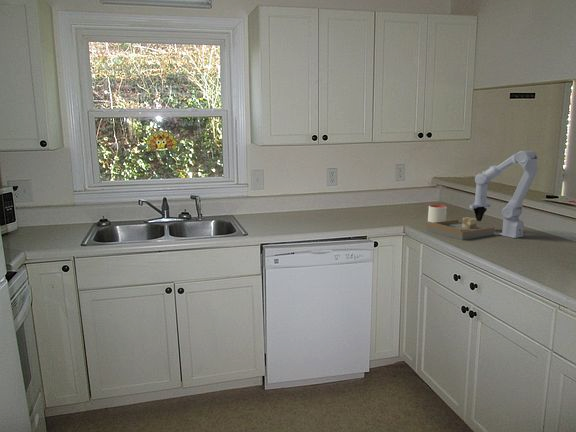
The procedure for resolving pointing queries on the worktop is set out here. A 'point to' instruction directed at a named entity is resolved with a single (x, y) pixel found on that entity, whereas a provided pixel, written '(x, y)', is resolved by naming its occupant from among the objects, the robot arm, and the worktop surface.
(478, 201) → the robot arm
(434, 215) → the cup
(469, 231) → the trap board
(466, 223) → the block
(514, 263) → the worktop surface
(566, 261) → the worktop surface
